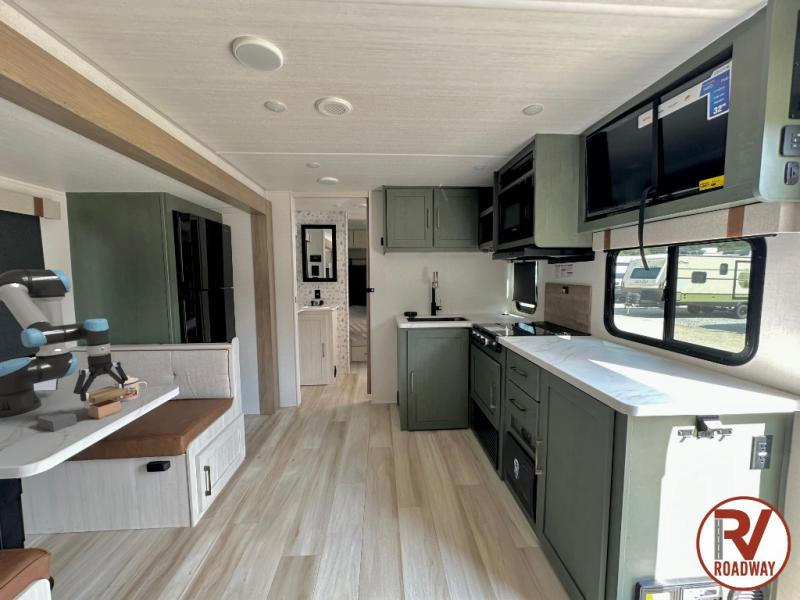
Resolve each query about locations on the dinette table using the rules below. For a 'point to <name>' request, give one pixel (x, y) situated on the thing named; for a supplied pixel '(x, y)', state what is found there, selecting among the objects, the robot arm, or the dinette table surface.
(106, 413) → the pink hollow square box
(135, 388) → the teacup with lid
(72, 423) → the gray rectangular block
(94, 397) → the lid
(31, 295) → the robot arm
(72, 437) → the dinette table surface
